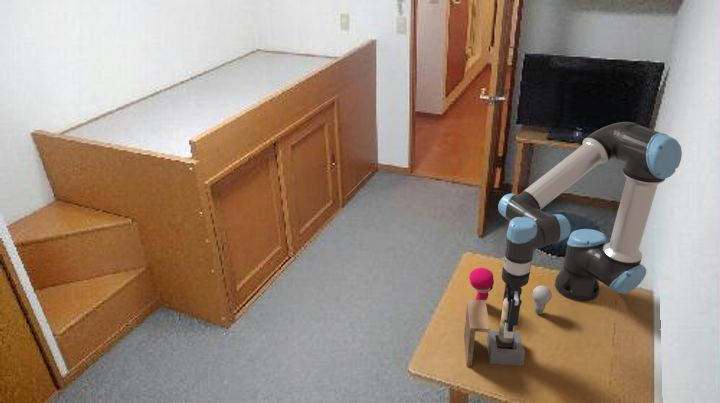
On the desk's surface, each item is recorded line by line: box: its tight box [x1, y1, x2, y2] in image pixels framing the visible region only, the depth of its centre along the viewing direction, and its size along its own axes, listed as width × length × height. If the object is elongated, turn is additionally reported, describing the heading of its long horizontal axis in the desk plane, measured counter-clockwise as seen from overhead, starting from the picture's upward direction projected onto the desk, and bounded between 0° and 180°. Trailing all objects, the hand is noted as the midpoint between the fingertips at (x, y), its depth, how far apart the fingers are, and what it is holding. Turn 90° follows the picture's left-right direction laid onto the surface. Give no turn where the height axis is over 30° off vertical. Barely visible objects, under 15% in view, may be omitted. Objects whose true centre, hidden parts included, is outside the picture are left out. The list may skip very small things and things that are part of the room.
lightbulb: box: [532, 285, 553, 315], centre depth 183 cm, size 6×6×11 cm
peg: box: [498, 298, 516, 343], centre depth 164 cm, size 4×4×14 cm
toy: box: [469, 267, 495, 302], centre depth 186 cm, size 8×8×15 cm
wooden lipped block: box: [463, 298, 491, 367], centre depth 167 cm, size 6×13×15 cm, turn 174°
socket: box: [486, 330, 526, 367], centre depth 169 cm, size 10×10×4 cm
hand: (507, 331), depth 166 cm, fingers closed on peg, 4 cm apart
